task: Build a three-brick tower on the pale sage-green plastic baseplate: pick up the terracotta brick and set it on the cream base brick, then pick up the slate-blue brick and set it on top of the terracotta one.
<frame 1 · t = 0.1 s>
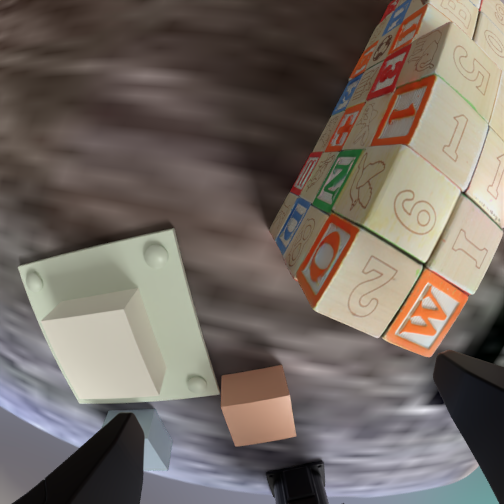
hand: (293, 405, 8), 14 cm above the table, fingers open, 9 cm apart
baseplate: (114, 332, 23), on the table
brick blue: (141, 426, 26), on the table
brick terracotta: (256, 391, 25), on the table
stack of blocks: (372, 121, 20), on the table
brick cream: (112, 335, 22), point 1 cm above the table, touching baseplate
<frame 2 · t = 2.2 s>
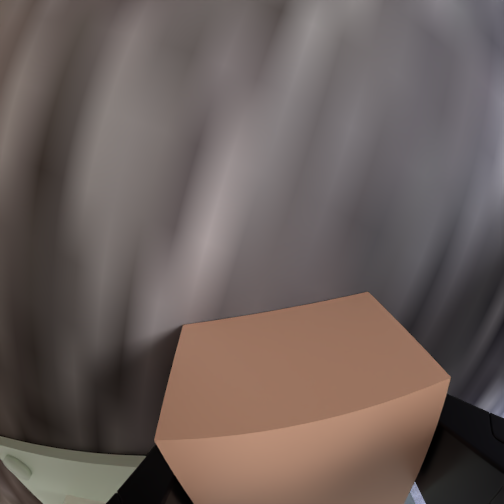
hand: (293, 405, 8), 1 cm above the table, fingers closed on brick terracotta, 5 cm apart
brick terracotta: (287, 382, 9), on the table, touching gripper
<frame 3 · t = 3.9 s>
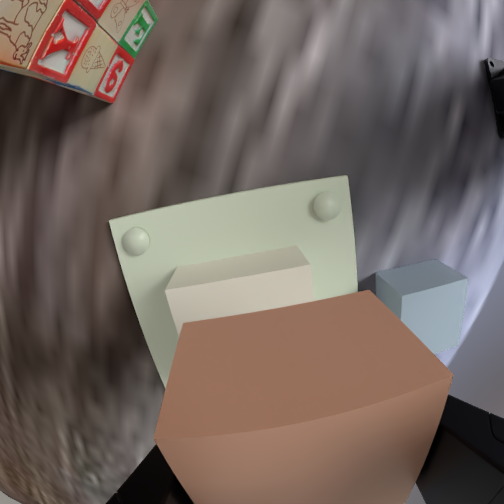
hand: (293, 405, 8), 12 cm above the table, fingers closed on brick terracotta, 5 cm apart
baseplate: (247, 305, 19), on the table
brick blue: (405, 297, 20), on the table
brick terracotta: (288, 381, 9), point 11 cm above the table, touching gripper
stack of blocks: (26, 36, 14), on the table
brick cream: (247, 310, 19), point 1 cm above the table, touching baseplate
when the fingers open (6 cm above the table, at t = 5.4 s): brick terracotta stays where it is, resting on brick cream.
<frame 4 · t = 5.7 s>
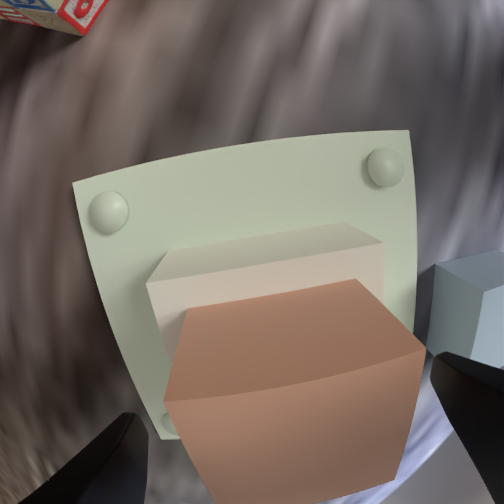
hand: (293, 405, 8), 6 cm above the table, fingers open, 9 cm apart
baseplate: (268, 310, 14), on the table
brick blue: (463, 297, 14), on the table
brick terracotta: (283, 363, 10), point 4 cm above the table, touching brick cream
brick cream: (269, 316, 13), point 1 cm above the table, touching baseplate, brick terracotta
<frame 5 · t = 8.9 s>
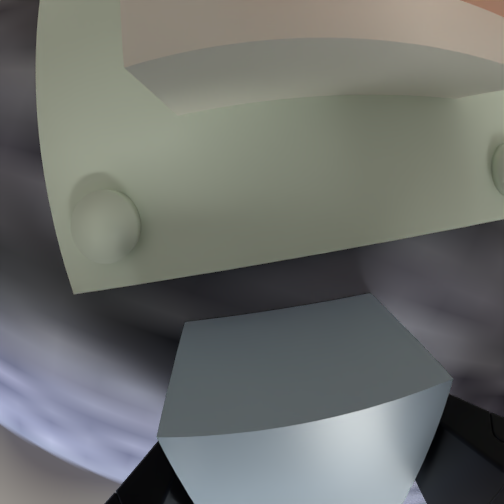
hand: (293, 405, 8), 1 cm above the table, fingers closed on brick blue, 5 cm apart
brick blue: (287, 382, 9), on the table, touching gripper
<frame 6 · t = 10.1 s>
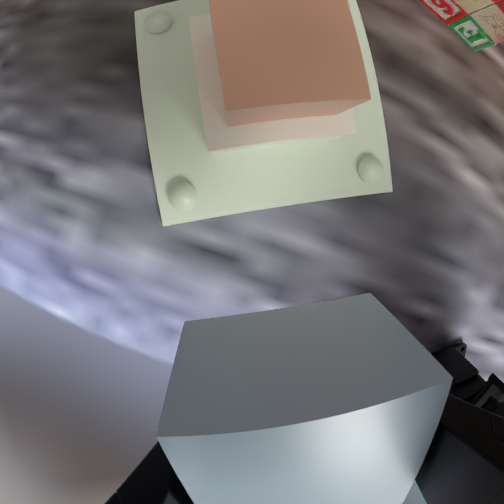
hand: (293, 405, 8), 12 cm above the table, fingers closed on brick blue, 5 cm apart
baseplate: (264, 88, 16), on the table
brick blue: (287, 382, 9), point 11 cm above the table, touching gripper
brick terracotta: (274, 69, 12), point 4 cm above the table, touching brick cream
brick cream: (265, 86, 16), point 1 cm above the table, touching baseplate, brick terracotta
when the fingers open (10 cm above the table, at t = 11.5 s): brick blue stays where it is, resting on brick terracotta.
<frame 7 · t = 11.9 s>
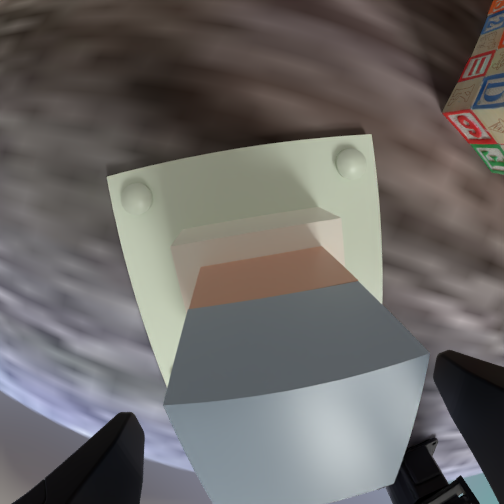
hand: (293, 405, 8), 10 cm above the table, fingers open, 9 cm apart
baseplate: (260, 278, 17), on the table
brick blue: (283, 366, 9), point 8 cm above the table, touching brick terracotta
brick terracotta: (270, 311, 13), point 4 cm above the table, touching brick blue, brick cream
brick cream: (261, 282, 17), point 1 cm above the table, touching baseplate, brick terracotta
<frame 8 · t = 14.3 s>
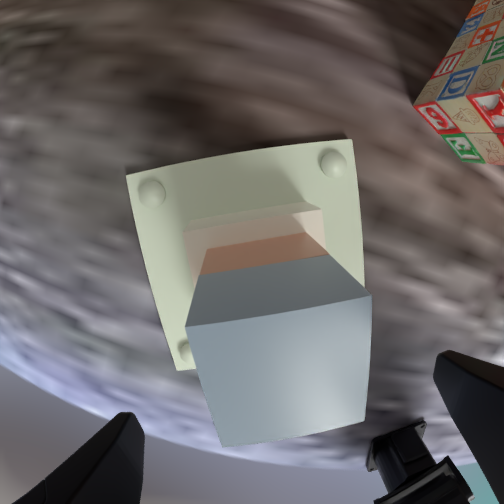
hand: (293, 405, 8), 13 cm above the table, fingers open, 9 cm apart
baseplate: (256, 262, 20), on the table
brick blue: (273, 323, 12), point 8 cm above the table, touching brick terracotta
brick terracotta: (264, 286, 16), point 4 cm above the table, touching brick blue, brick cream
stack of blocks: (480, 55, 17), on the table
brick cream: (257, 265, 20), point 1 cm above the table, touching baseplate, brick terracotta
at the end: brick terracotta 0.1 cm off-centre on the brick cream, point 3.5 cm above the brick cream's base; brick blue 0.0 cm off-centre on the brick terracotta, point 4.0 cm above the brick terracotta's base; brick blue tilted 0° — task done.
